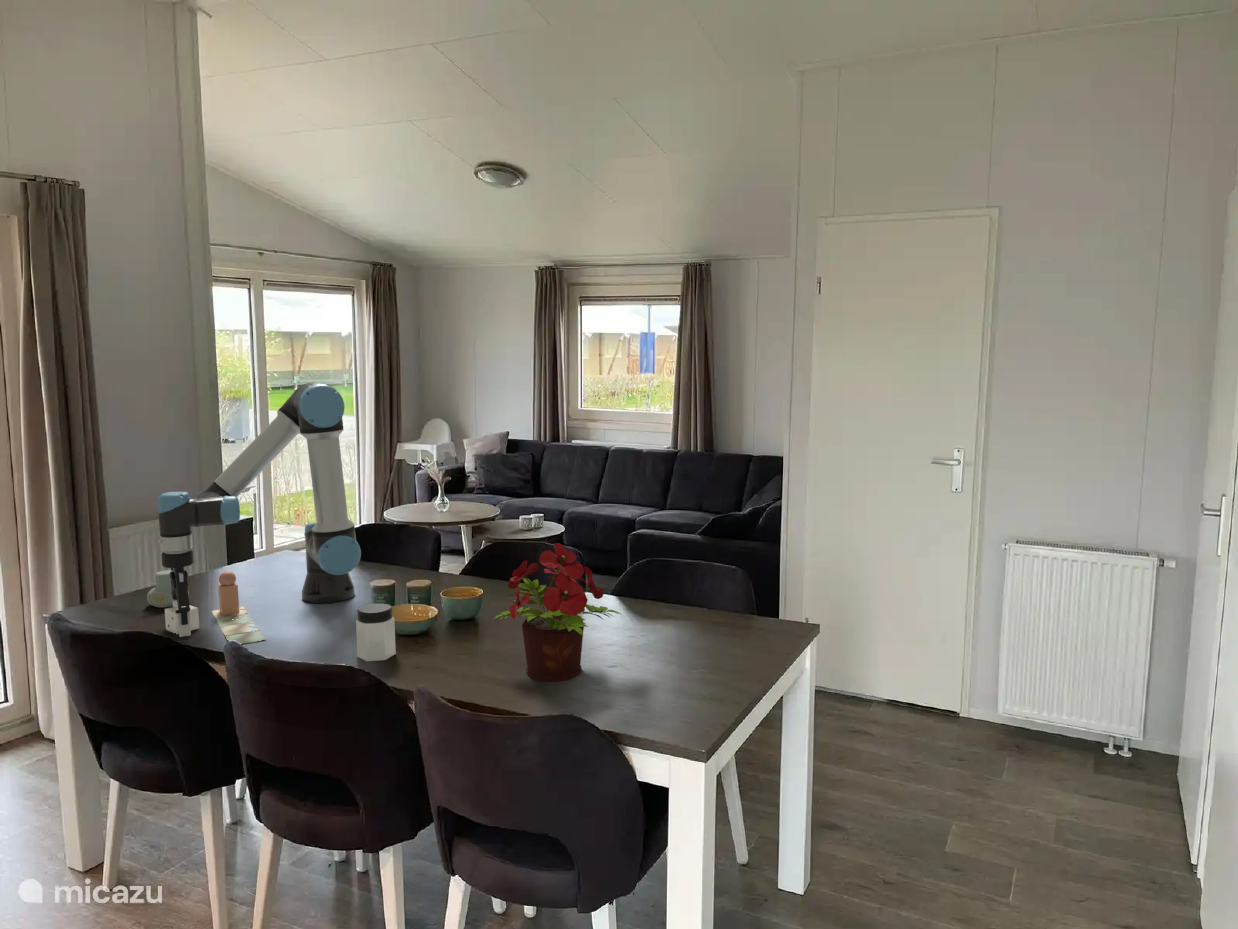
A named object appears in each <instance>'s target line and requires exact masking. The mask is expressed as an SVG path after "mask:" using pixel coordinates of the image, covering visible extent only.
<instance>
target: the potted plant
mask: <svg viewBox="0 0 1238 929" xmlns="http://www.w3.org/2000/svg"><path fill="white" fill-rule="evenodd" d="M553 548H554V551H555V552H553V551H552V550H544V551H542V552H541V553H540V556H539V563H540V564H541V565H542V566H544V567H545V568H544V569H543V572H544V573H546V574H552V575H553V576H552V575H549V576H548V580H550V584H549V585H548V587H546V586H547V584H540V582H539V579H534V580H532V581H531V580H530V578H528V575H532V574H534V573H535V572H537V571H539V570H540V565H539V563H537V562H532V563H530V564H529V565H528V559H525V560H524V561H522V563H521V564H520V565H519V566H518V568H516V569H514V570H513V572H512V574H511V576H512V577H510V579H509V581H508V584H507V585H508V586H507V587H508V588H509V589H512V590H515V593H514V594H515V595H514V597H516V599H514V600H513V604H512V605H510V606H509V610H506V611H503V612H501V613H500V614H498V615H495V616H494V617H492V618H491V620H495V619H497V618H499V617H501V618H500V620H502V619H503V618H504V619H506V618H509V616H510V617H511V618H512V619H513V620H516V618H517V617H518V616H521V617H523V616H528V617H527V618H525V620H524V621H523V623H522V625H521V630H522V637H523V645H524V652H525V662H526V668H525V670H526V671H525V673H526V675H527V677H530V679H534V680H536V681H542V682H561V681H562V682H563V681H567V680H571V679H573V678H576V677H578V676H579V675H580V674H581V672H582V665H581V662H582V661H581V660H582V652H583V638H584V628H585V627H587V628H588V627H589V625H587V624H586V623H585V622H584V621H586V619H585V618H583V617H582V616H580V614H584V615H585V614H588V615H593V616H596V617H598V618H599V619H602V620H605V619H604V618H603V617H602V616H601V615H604V616H606V617H607V618H610V616H612V617H613V618H614V617H615V616H613V614H611V613H615V614H617V615H621V616H622V613H620V612H619V611H617V610H614V609H609V608H608V607H607V606H603V605H601V606H599V607H597V606H595V605H591V604H587V603H588V600H589V599H588V598H587V595H586V593H585V590H587V588H588V590H589V592H590V593H591V594H592V596H593V598H594V599H597V600H599V599H602V598H603V597H604V593H605V592H604V589H603V588H601V587H597V586H596V584H595V583H596V581H595V580H594V579H593V571H592V570H591V569H590V567H588V566H586V565H584V567H583V565H582V564H581V562H580V561H576V560H577V554H576V553H575V552H574V551H571V550H567V549H566V547H564V545H563V544H562V543H560V542H554V544H553ZM556 568H557V569H556ZM584 573H585V574H586V578H587V580H588V581H586V580H585V579H584V577H582V576H583V575H584ZM576 580H578V581H583V582H585V584H586V586H585V588H584V587H583V585H581V584H579V583H578V581H576ZM522 581H523V582H524V583H523V582H522ZM521 582H522V583H521ZM553 582H555V584H554V585H553V586H552V584H553ZM539 584H540V585H539ZM518 587H520V588H518ZM535 594H536V595H535ZM520 597H522V598H521V601H520ZM530 598H533V599H537V600H538V602H537V601H535V600H532V599H530ZM526 605H534V606H540V607H543V608H542V609H541V610H540V609H536V608H535V609H533V608H531V607H530V606H526ZM541 605H542V606H541ZM523 608H525V609H523ZM545 608H546V611H545ZM585 609H587V611H586V610H585ZM595 613H598V614H595ZM599 614H601V615H599Z"/></svg>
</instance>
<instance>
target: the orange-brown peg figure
mask: <svg viewBox="0 0 1238 929" xmlns="http://www.w3.org/2000/svg"><path fill="white" fill-rule="evenodd" d="M218 581H219V583H217V587H218V602H219V609H220V612H221V614H222V615H227V614H234V613H239V607H240V606H239V605H240V601H239V585H238V584H237V582H236V581H237V577H236V574H235V573H234V572H232V571H229V570H228V571H223V572H222V573H221V574H220V575H219V578H218Z"/></svg>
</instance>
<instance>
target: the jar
mask: <svg viewBox="0 0 1238 929" xmlns="http://www.w3.org/2000/svg"><path fill="white" fill-rule="evenodd" d="M356 611H357V619H355V630H356V650H357V652H356V653H357V654H356V655H357V658H359V659H361V660H362V661H364V662H368V663H369V662H380V661H386V660H388V659H390V658H391V657H394V655H396V653H397V652H396V631H395V630H396V629H395V628H396V627H395V617H394V616H393V607H392V605H390V604H387V603H369V604H365V605H361V606H360V607H358V608H357V610H356Z"/></svg>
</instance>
